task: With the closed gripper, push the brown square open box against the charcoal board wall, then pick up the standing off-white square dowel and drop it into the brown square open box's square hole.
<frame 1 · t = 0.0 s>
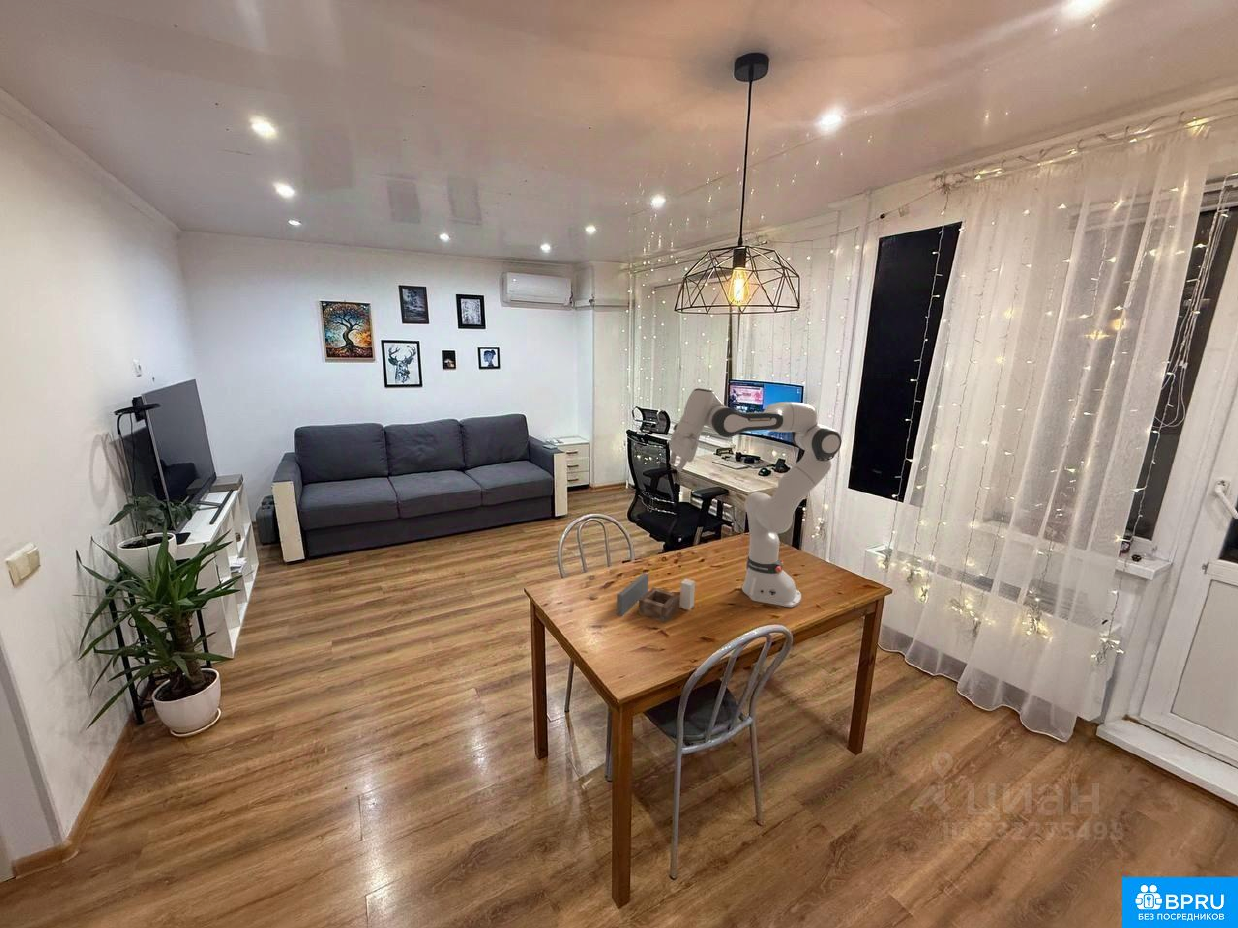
hand: (675, 467, 179), 52 cm above the table, tool tilted 20°, fingers open, 8 cm apart
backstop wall: (633, 603, 186), on the table
brown square open box: (659, 612, 181), on the table
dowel: (686, 606, 185), on the table
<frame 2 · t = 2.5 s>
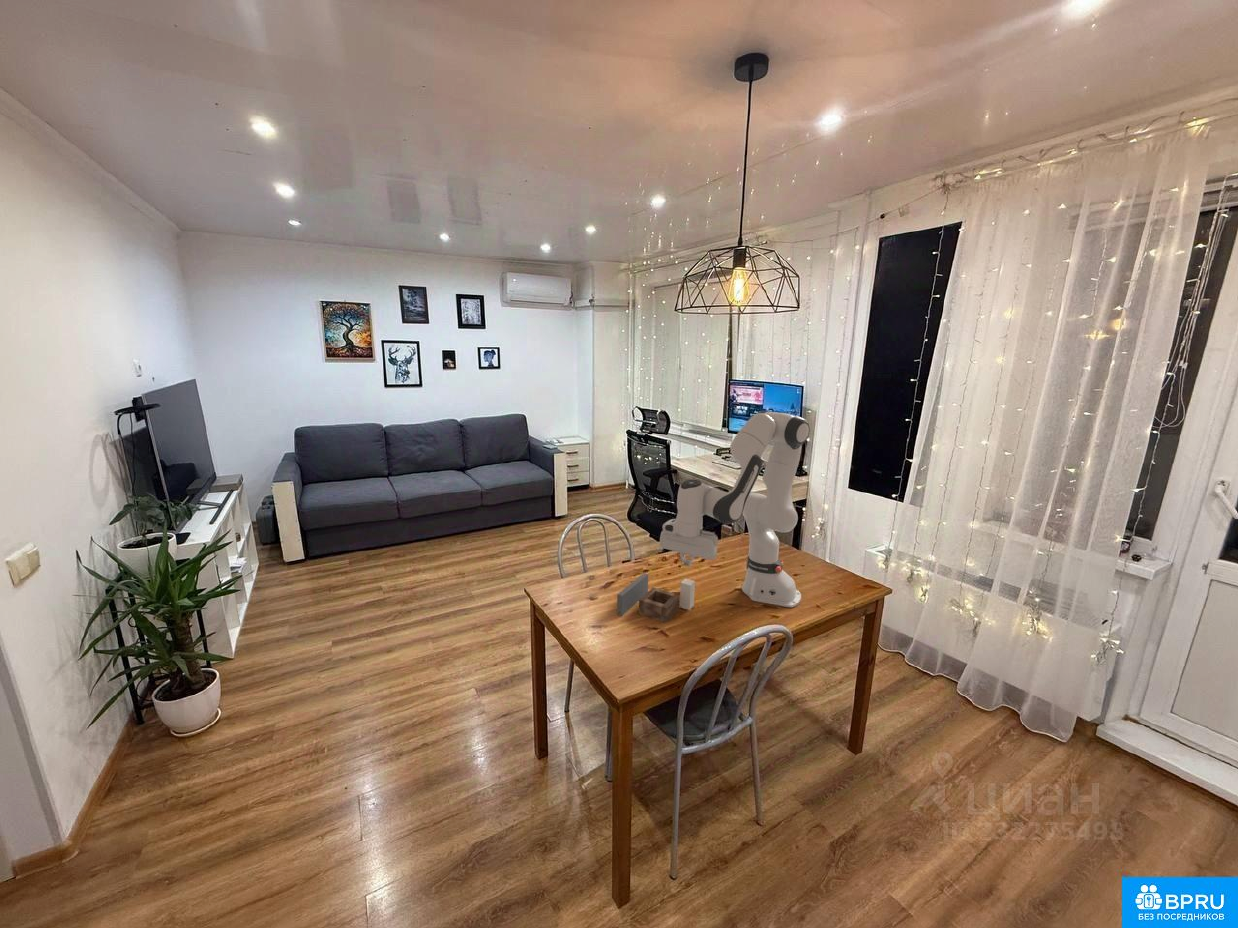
hand: (687, 564, 171), 21 cm above the table, tool pointing down, fingers closed
nothing on the table moved.
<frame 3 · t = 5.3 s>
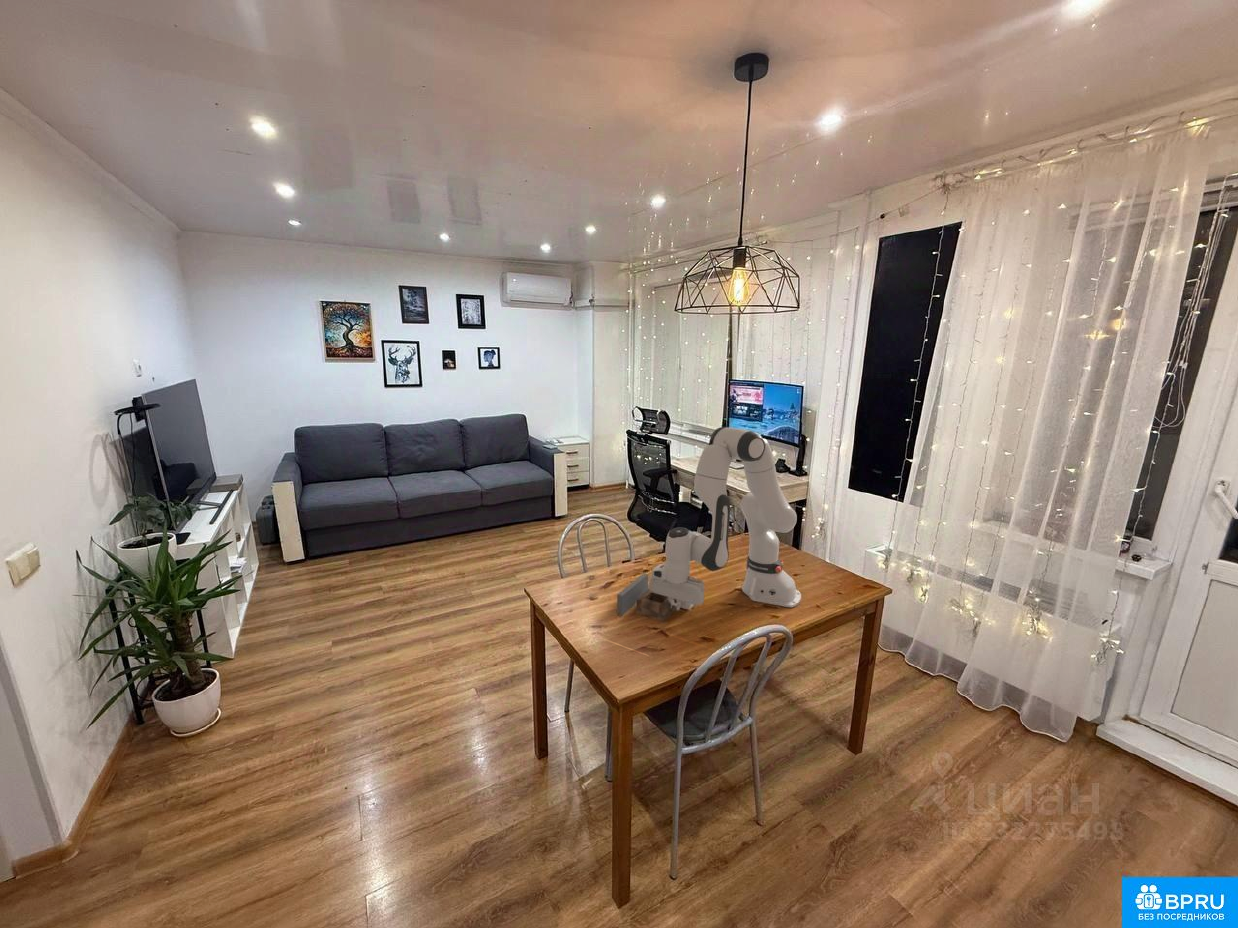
hand: (675, 608, 177), 3 cm above the table, tool pointing down, fingers closed
brown square open box: (656, 611, 181), on the table, touching gripper
everything else where it was.
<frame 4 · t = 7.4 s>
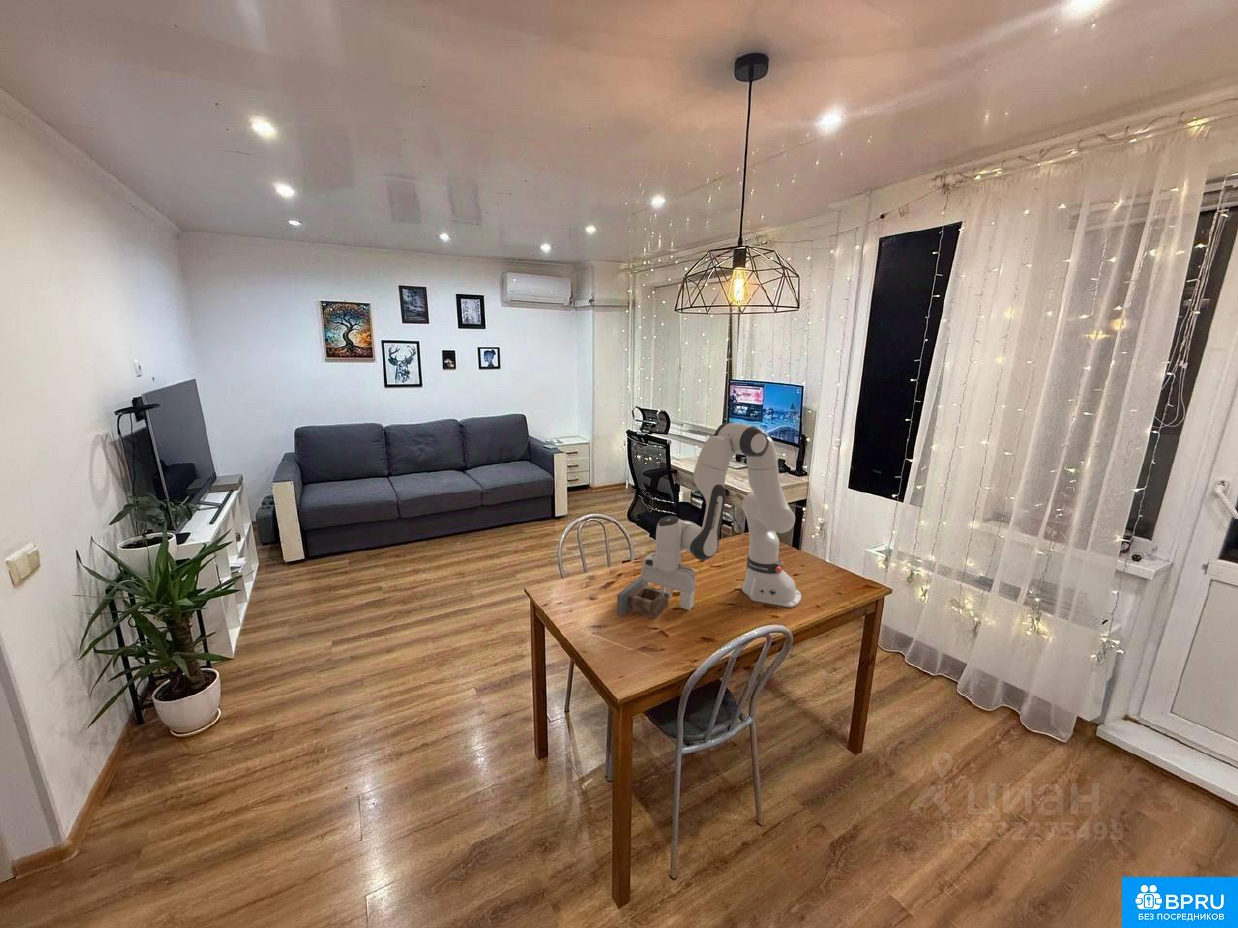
hand: (667, 596, 178), 7 cm above the table, tool pointing down, fingers closed
brown square open box: (648, 608, 183), on the table
everything else where it was.
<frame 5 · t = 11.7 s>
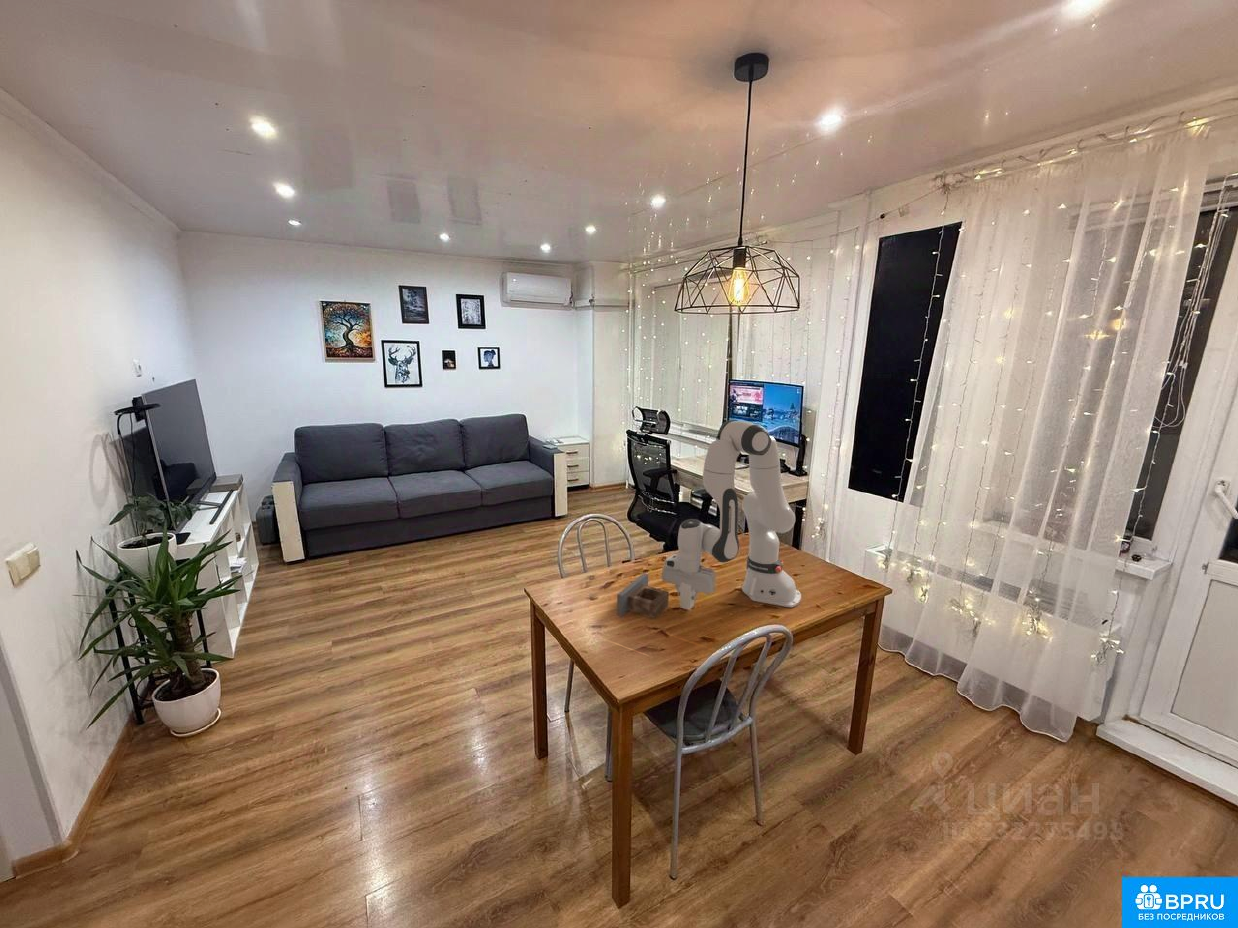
hand: (687, 597, 184), 4 cm above the table, tool pointing down, fingers closed on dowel, 4 cm apart
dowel: (686, 606, 185), on the table, touching gripper
everything else where it was.
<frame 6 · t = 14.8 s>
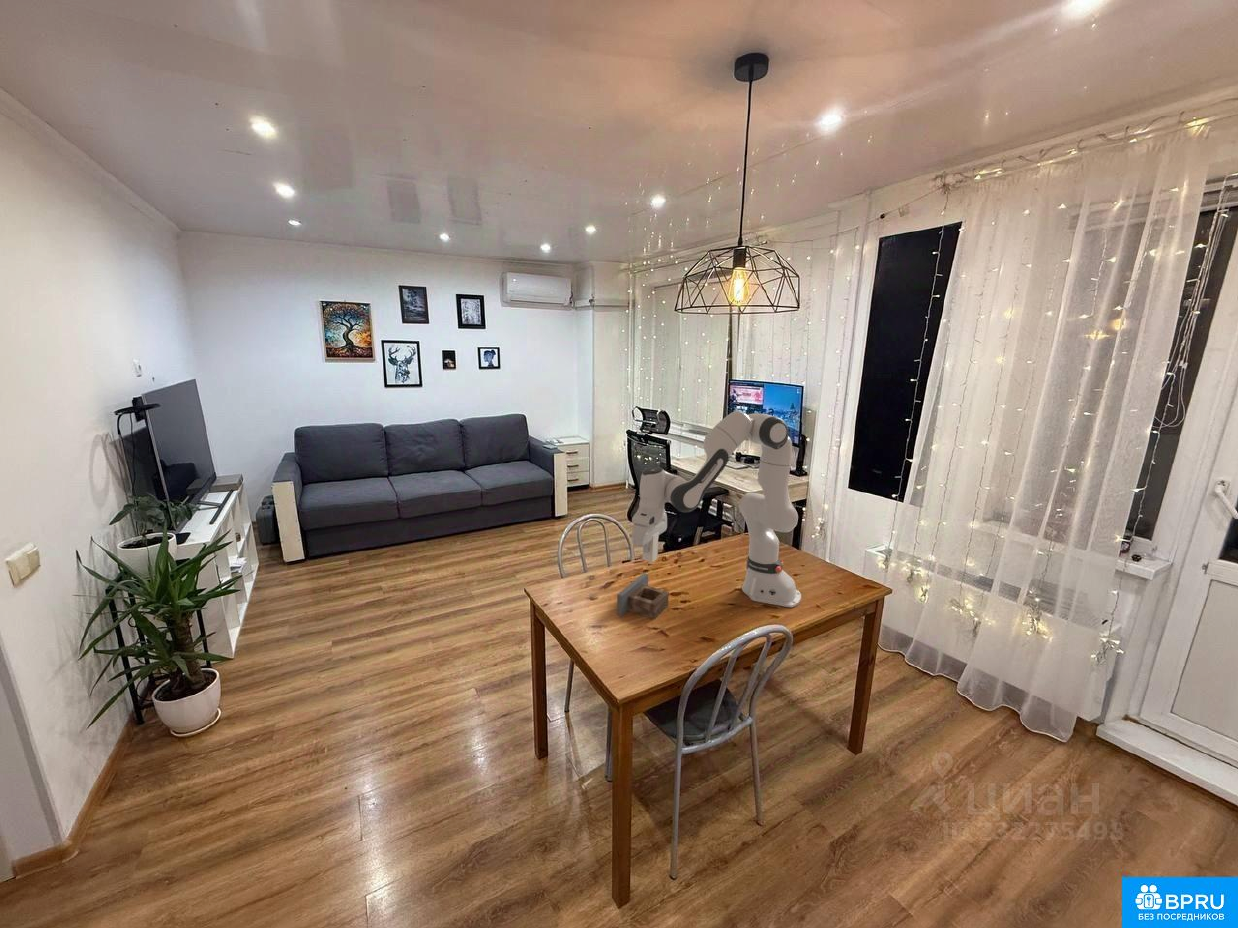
hand: (650, 549, 178), 23 cm above the table, tool pointing down, fingers closed on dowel, 4 cm apart
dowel: (649, 558, 178), point 20 cm above the table, touching gripper
everything else where it was.
when the fingers open (8 cm above the table, at t = 18.1 s): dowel drops 3 cm, resting on brown square open box.
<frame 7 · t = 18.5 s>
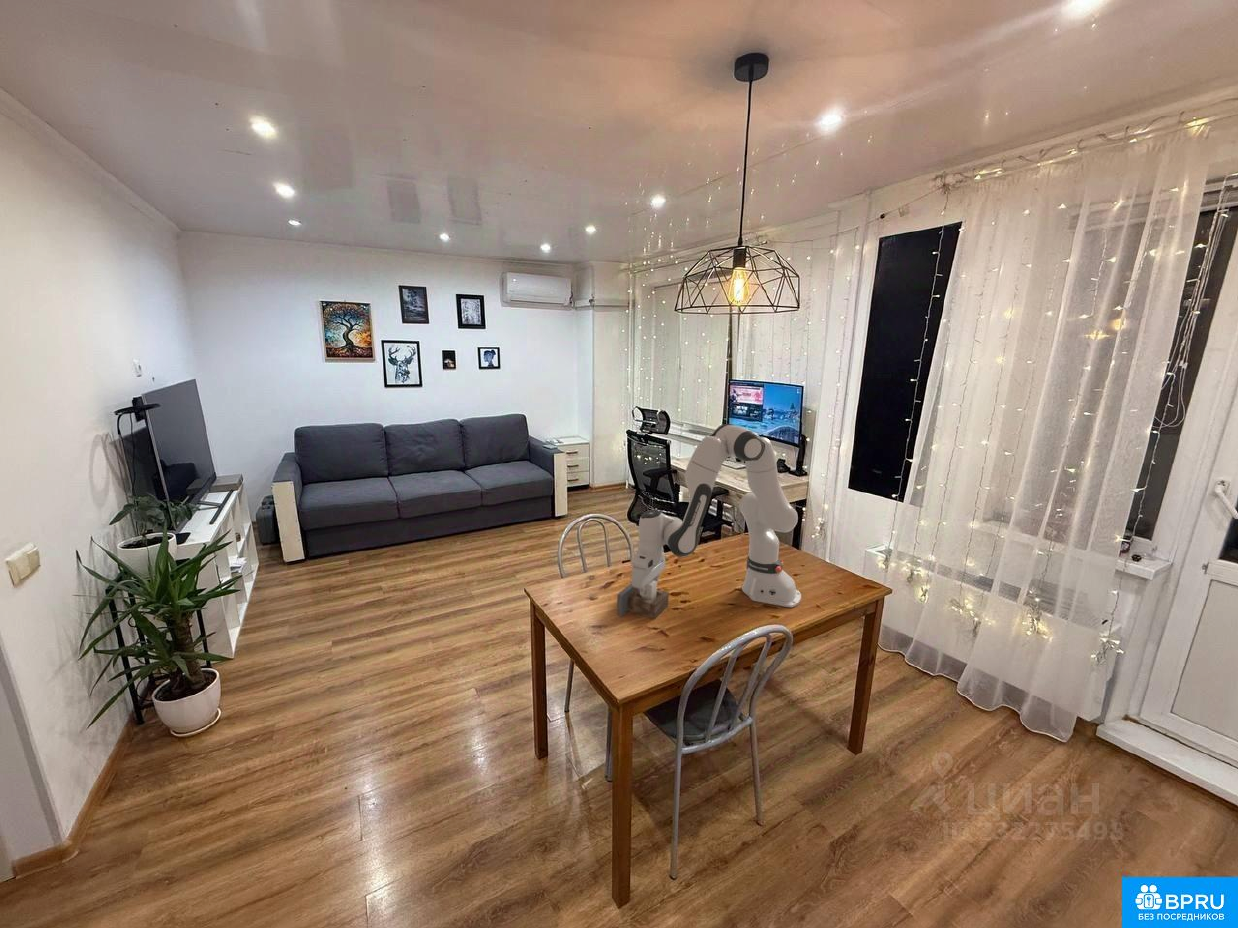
hand: (648, 589, 181), 8 cm above the table, tool pointing down, fingers open, 8 cm apart
brown square open box: (648, 609, 183), on the table, touching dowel
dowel: (648, 606, 183), point 1 cm above the table, touching brown square open box
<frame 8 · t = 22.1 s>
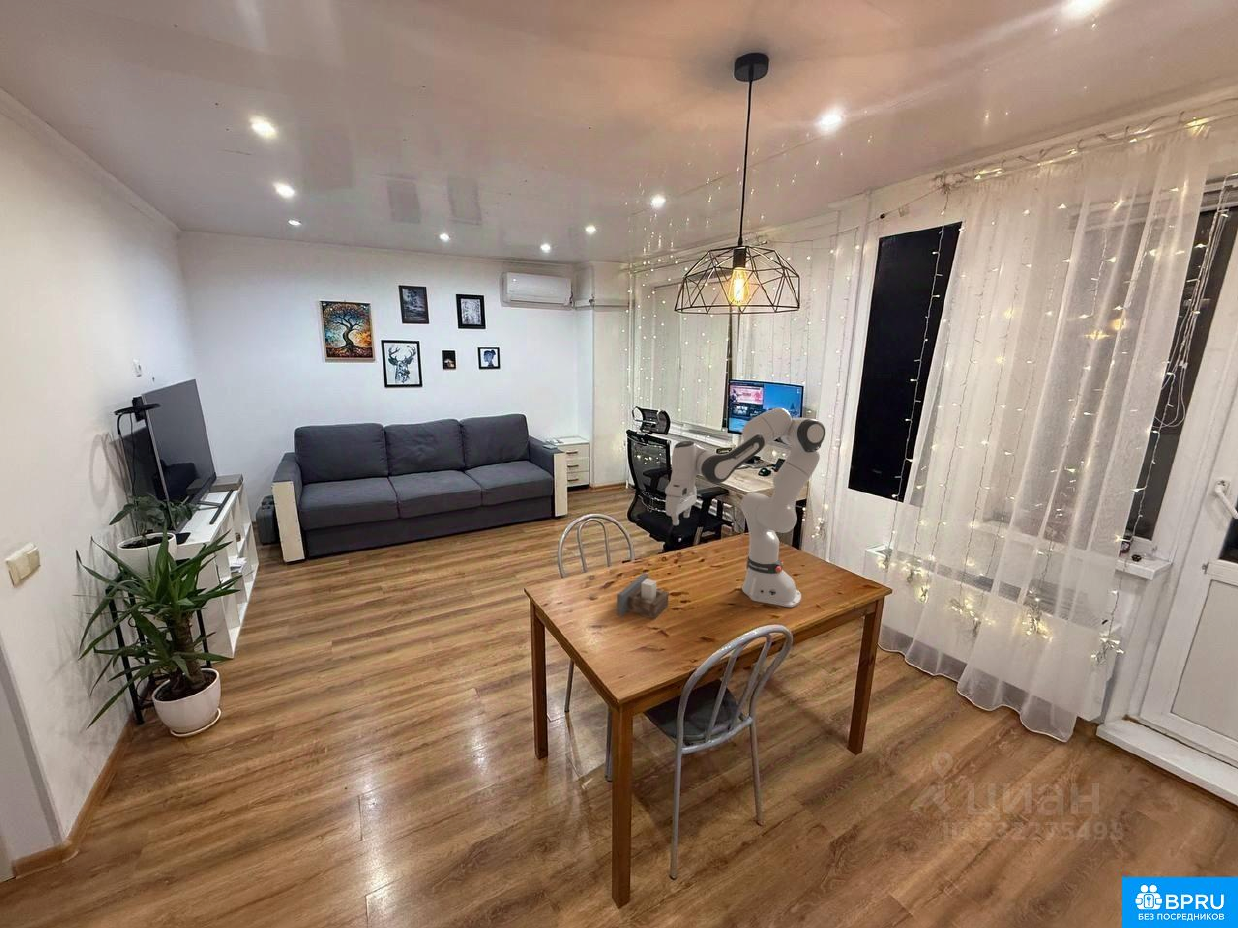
hand: (681, 520, 185), 31 cm above the table, tool pointing down, fingers open, 8 cm apart
nothing on the table moved.
at the end: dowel 0.1 cm off-centre on the brown square open box, point 1.0 cm above the brown square open box's base; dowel tilted 0°; brown square open box inside the target area (0.3 cm from its centre), on the table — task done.
